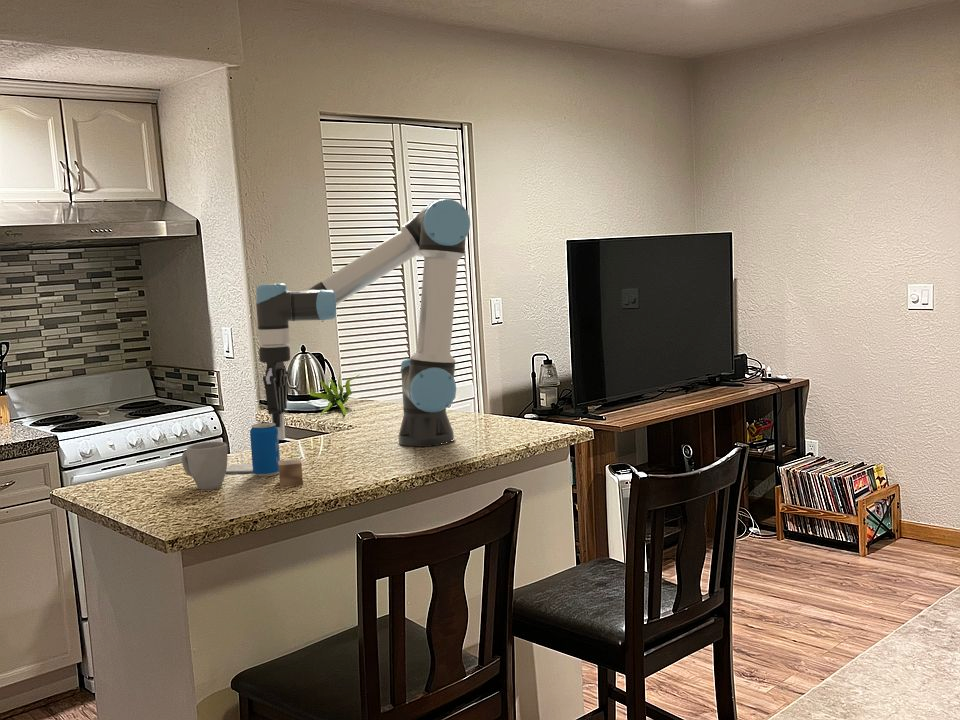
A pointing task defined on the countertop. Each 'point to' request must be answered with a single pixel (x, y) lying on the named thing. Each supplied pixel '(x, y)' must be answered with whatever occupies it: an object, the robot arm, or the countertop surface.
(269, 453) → the beverage can
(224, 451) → the mug
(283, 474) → the walnut block
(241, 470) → the tile
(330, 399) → the decorative plant
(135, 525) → the countertop surface
